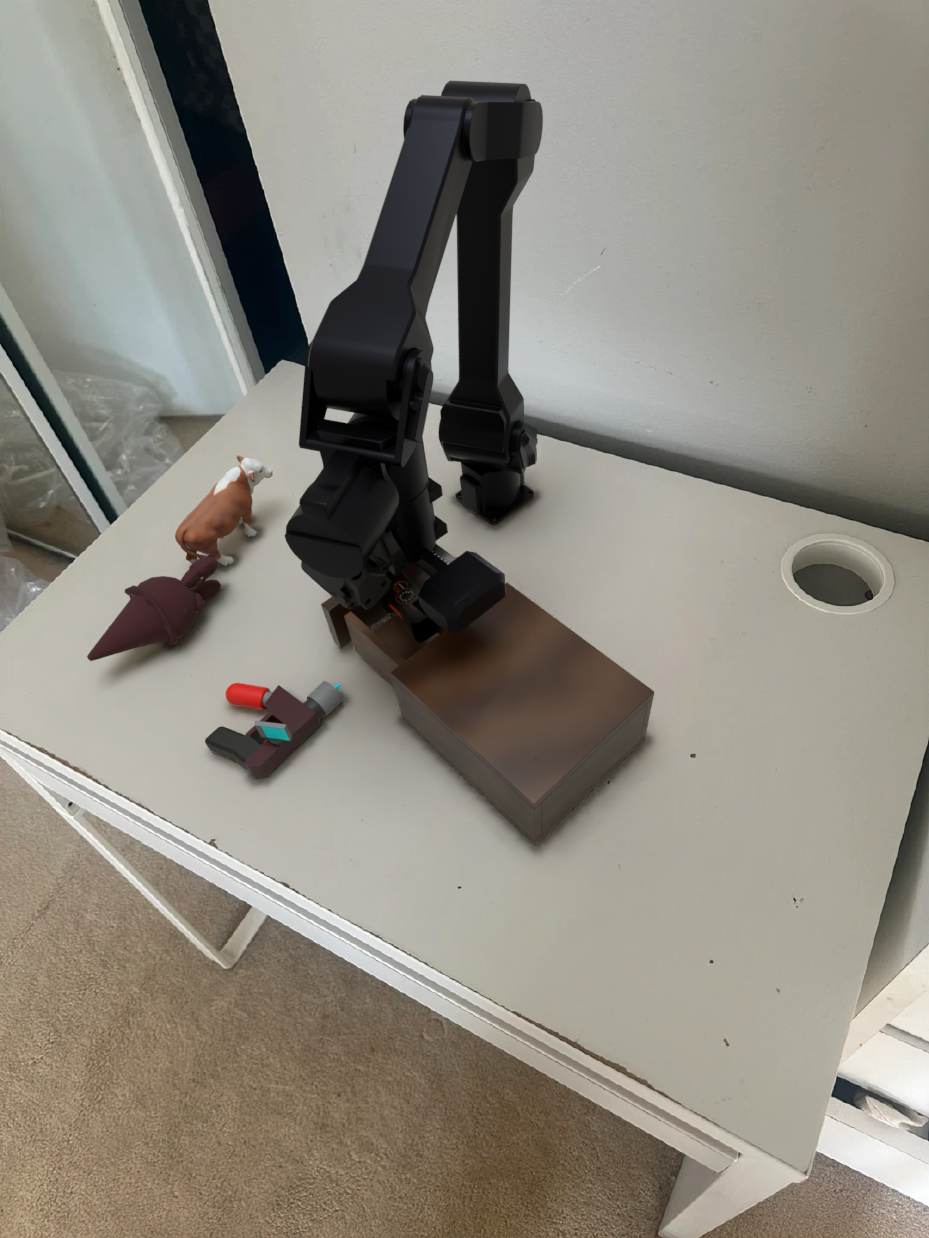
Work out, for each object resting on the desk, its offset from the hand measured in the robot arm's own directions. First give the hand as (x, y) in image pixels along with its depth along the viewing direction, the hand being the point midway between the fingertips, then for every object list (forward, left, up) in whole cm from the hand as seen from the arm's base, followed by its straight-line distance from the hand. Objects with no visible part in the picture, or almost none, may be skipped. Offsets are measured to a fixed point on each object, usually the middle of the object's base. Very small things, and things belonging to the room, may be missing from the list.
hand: (417, 608), depth 72 cm
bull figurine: (+5, -26, -6) cm, 27 cm away
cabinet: (0, +13, -6) cm, 14 cm away
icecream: (+17, -20, -6) cm, 27 cm away
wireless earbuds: (0, +1, -1) cm, 1 cm away
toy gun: (+15, -4, -6) cm, 17 cm away
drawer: (0, -1, -5) cm, 5 cm away
